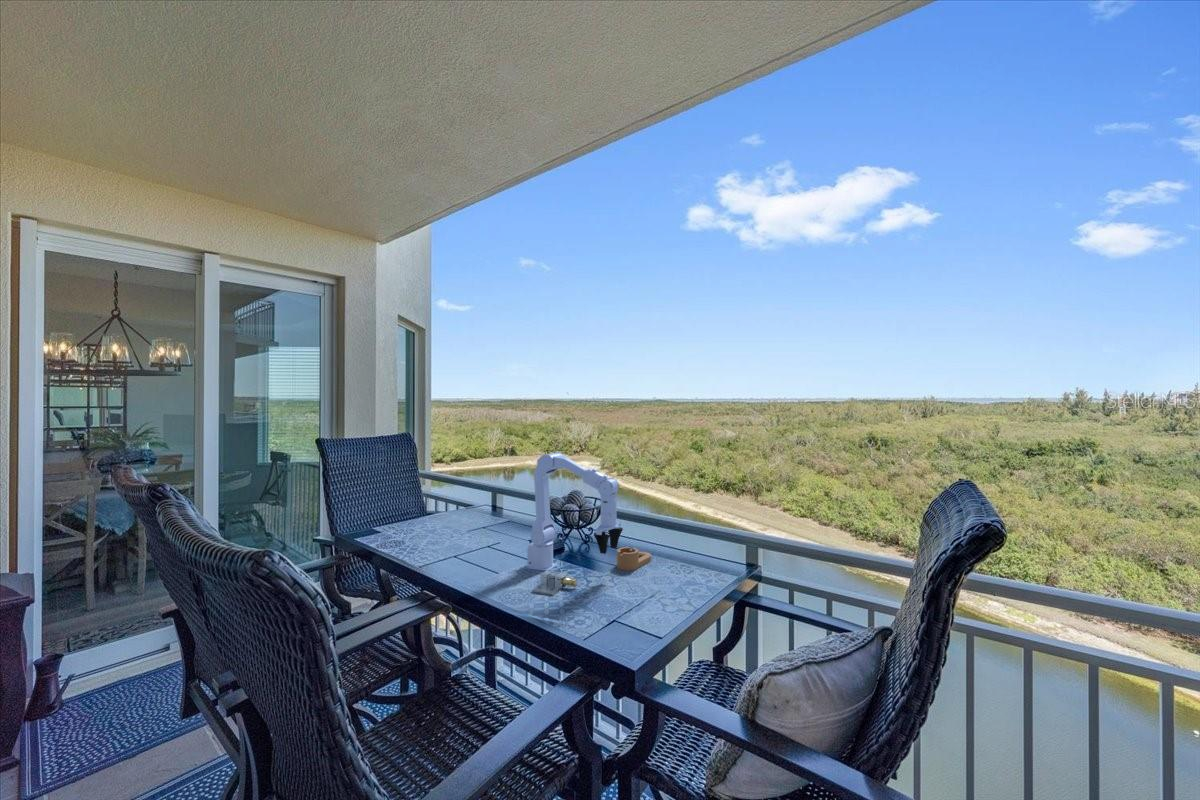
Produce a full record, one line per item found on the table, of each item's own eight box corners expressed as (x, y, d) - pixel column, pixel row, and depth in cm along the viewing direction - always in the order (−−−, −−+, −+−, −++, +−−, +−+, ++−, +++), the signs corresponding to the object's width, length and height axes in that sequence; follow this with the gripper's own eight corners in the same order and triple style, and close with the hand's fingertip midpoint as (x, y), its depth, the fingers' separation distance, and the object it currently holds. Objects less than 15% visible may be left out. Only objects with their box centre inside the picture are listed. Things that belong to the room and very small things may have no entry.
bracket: (631, 573, 177) (631, 555, 177) (612, 569, 182) (612, 551, 182) (654, 561, 192) (654, 543, 192) (637, 557, 197) (637, 540, 197)
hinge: (532, 592, 159) (532, 580, 159) (554, 575, 174) (554, 564, 174) (552, 595, 156) (552, 583, 156) (573, 578, 171) (573, 567, 171)
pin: (550, 584, 164) (550, 577, 164) (554, 581, 166) (554, 574, 167) (574, 588, 161) (574, 580, 161) (577, 585, 163) (577, 578, 163)
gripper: (608, 517, 164) (607, 557, 163) (627, 510, 176) (627, 547, 176) (590, 515, 167) (590, 554, 167) (611, 507, 180) (611, 544, 179)
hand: (608, 550), depth 172 cm, fingers open, 7 cm apart
